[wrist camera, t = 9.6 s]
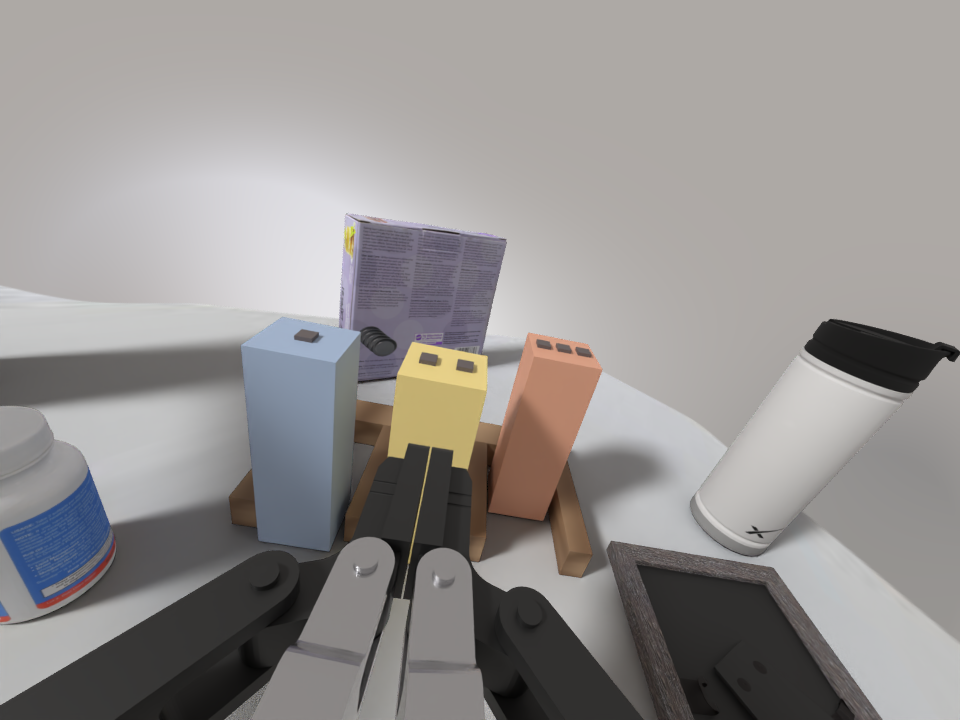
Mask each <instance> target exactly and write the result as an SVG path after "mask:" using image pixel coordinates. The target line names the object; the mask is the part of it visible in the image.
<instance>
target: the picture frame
mask: <svg viewBox="0 0 960 720" xmlns="http://www.w3.org/2000/svg"><path fill="white" fill-rule="evenodd" d="M607 553H608V556H609V559H610V563H611V566H612V569H613V572H614V576H615V579H616V582H617V585H618V589H619V592H620V595H621V599H622V602H623V605H624V608H625V612H626V615H627V618H628V621H629V625H630V628H631V631H632V634H633V638H634V641H635V644H636V647H637V651H638V654H639V657H640V660H641V664H642V667H643V670H644V673H645V677H646V680H647V683H648V686H649V690H650V693H651V696H652V700H653V703H654V706H655V709H656V713H657V716H658V719H659V720H882V719H881V717H880V716H879V714H878V713H877V712H876V710H875V709H874V707H873V706H872V705H871V703H870V702H869V700H868V699H867V698H866V696H865V695H864V693H863V692H862V691H861V689H860V688H859V686H858V685H857V684H856V682H855V681H854V680H853V678H852V677H851V675H850V674H849V673H848V671H847V670H846V668H845V667H844V666H843V664H842V663H841V661H840V660H839V659H838V657H837V656H836V654H835V653H834V652H833V650H832V649H831V647H830V646H829V645H828V643H827V642H826V640H825V639H824V638H823V636H822V635H821V634H820V632H819V631H818V629H817V628H816V627H815V625H814V624H813V622H812V621H811V620H810V618H809V617H808V615H807V614H806V613H805V611H804V610H803V608H802V607H801V606H800V604H799V603H798V601H797V600H796V599H795V597H794V596H793V595H792V593H791V592H790V590H789V589H788V588H787V586H786V585H785V583H784V582H783V581H782V579H781V578H780V576H779V575H778V574H777V572H776V571H775V569H774V568H772V567H766V566H760V565H754V564H748V563H742V562H736V561H730V560H724V559H718V558H712V557H706V556H700V555H694V554H687V553H681V552H675V551H669V550H663V549H657V548H651V547H645V546H639V545H633V544H627V543H621V542H615V541H611V542H610V544H609V546H608V548H607Z"/></svg>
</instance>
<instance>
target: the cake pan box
mask: <svg viewBox="0 0 960 720" xmlns="http://www.w3.org/2000/svg"><path fill="white" fill-rule="evenodd" d="M506 244H507V242H506V239H505V238H501V237H497V236H493V235H490V234H486V233H478V232H471V231H463V230H456V229H450V228H444V227H438V226H432V225H425V224H419V223H411V222H403V221H395V220H388V219H381V218H375V217H368V216H362V215H356V214H348V213H346V215H345V229H344V247H343V248H344V249H343V263H342V278H341V295H340V296H341V297H340V317H339V328H343V329H348V330H353V331H359V332H361V339H360V355H359V370H358V381H363V380H372V379H380V378H389V377H397V374H398V371H399V369H400V367H401V365H402V363H403V361H404V359H405V356H406V354H407V352H408V350H409V348H410V346H411V344H412V342H416V343H421V344H426V345H432V346H437V347H442V348H447V349H452V350H458V351H463V352H468V353H473V354H478V355H481V353H482V349H483V345H484V340H485V335H486V330H487V326H488V322H489V317H490V312H491V308H492V303H493V298H494V294H495V290H496V285H497V281H498V277H499V273H500V269H501V264H502V260H503V256H504V252H505V248H506Z"/></svg>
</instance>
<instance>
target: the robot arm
mask: <svg viewBox="0 0 960 720" xmlns="http://www.w3.org/2000/svg"><path fill="white" fill-rule="evenodd" d="M429 451H430V446H424V445H418V444H412V443H408V446H407V450H406V453H405V457H404V459H403V458H397V457H391V456H389V457H388V458H387V459H386V460H385V461H384V462H383V463H382V464H381V465H379V466H378V469H377V472H376V475H375V477H374V480H373V483H372V485H371V488H370V491H369V494H368V496H367V499H366V502H365V505H364V507H363V510H362V513H361V516H360V518H359V521H358V524H357V526H356V529H355V532H354V535H353V537H352V539H351V540H350V542H349V543H348V544H347V545H346V546H345V547H344V548H343V549H342V550H341V551H340V552H338V553H337V554H335V555H333V556H331V557H328V558H325V559H321V560H316V561H310V562H304V563H298V562H297V561H296V559H295V558H294V557H293V556H292V555H290V554H289V553H286V552H284V551H266V552H262V553H260V554H257V555H255V556H253V557H251V558H249V559H248V560H246V561H244V562H242V563H241V564H239V565H237V566H236V567H234V568H232V569H231V570H229V571H227V572H226V573H224V574H222V575H220V576H219V577H217V578H215V579H214V580H212V581H210V582H209V583H207V584H205V585H203V586H202V587H200V588H198V589H197V590H195V591H193V592H192V593H190V594H188V595H187V596H185V597H183V598H181V599H180V600H178V601H176V602H175V603H173V604H171V605H170V606H168V607H166V608H164V609H163V610H161V611H159V612H158V613H156V614H154V615H153V616H151V617H149V618H148V619H146V620H144V621H142V622H141V623H139V624H137V625H136V626H134V627H132V628H131V629H129V630H127V631H126V632H124V633H122V634H120V635H119V636H117V637H115V638H114V639H112V640H110V641H109V642H107V643H105V644H103V645H102V646H100V647H98V648H97V649H95V650H93V651H92V652H90V653H88V654H87V655H85V656H83V657H81V658H80V659H78V660H76V661H75V662H73V663H71V664H70V665H68V666H66V667H65V668H63V669H61V670H59V671H58V672H56V673H54V674H53V675H51V676H49V677H48V678H46V679H44V680H42V681H41V682H39V683H37V684H36V685H34V686H32V687H31V688H29V689H27V690H26V691H24V692H22V693H20V694H19V695H17V696H15V697H14V698H12V699H10V700H9V701H7V702H5V703H3V704H2V705H0V720H224V719H225V718H226V717H228V716H229V715H230V714H231V713H232V712H233V711H235V710H236V709H237V708H238V707H239V706H240V705H242V704H243V703H244V702H245V701H246V700H248V699H249V698H250V697H251V696H252V695H253V694H255V693H256V692H257V691H258V690H259V689H261V688H262V687H263V686H264V685H265V684H266V683H268V682H269V683H268V685H267V688H266V690H265V692H264V694H263V696H262V698H261V700H260V702H259V704H258V706H257V708H256V710H255V712H254V714H253V716H252V718H251V720H358V718H359V714H360V711H361V707H362V704H363V701H364V697H365V694H366V690H367V687H368V684H369V680H370V677H371V673H372V670H373V667H374V663H375V660H376V656H377V653H378V650H379V646H380V643H381V639H382V636H383V633H384V628H385V626H386V624H387V622H388V619H389V614H390V610H391V605H392V601H393V598H400V599H401V594H402V589H403V584H404V579H405V574H406V569H407V564H408V559H409V554H410V549H411V544H412V539H413V534H414V529H415V524H416V519H417V514H418V509H419V504H420V499H421V494H422V489H423V484H424V478H425V473H426V467H427V462H428V456H429ZM452 460H453V450H449V449H443V448H437V447H432V450H431V455H430V460H429V465H428V471H427V476H426V481H425V486H424V491H423V496H422V501H421V506H420V511H419V517H418V522H417V527H416V532H415V537H414V542H413V548H412V553H411V558H410V564H409V569H408V575H407V580H406V586H405V591H404V597H403V599H409V600H410V604H409V610H408V615H407V621H406V626H405V632H404V639H403V648H402V658H401V667H400V676H399V685H398V695H397V704H396V713H395V720H485V713H484V698H485V700H486V702H487V704H488V705H489V707H490V709H491V711H492V712H493V714H494V716H495V718H496V719H497V720H643V718H642V717H641V716H640V715H639V713H638V712H637V711H636V710H635V708H634V707H633V706H632V705H631V703H630V702H629V701H628V700H627V698H626V697H625V696H624V695H623V693H622V692H621V691H620V690H619V688H618V687H617V686H616V685H615V684H614V682H613V681H612V680H611V679H610V677H609V676H608V675H607V674H606V672H605V671H604V670H603V669H602V667H601V666H600V665H599V664H598V662H597V661H596V660H595V659H594V657H593V656H592V655H591V654H590V652H589V651H588V650H587V649H586V647H585V646H584V645H583V644H582V642H581V641H580V640H579V639H578V637H577V636H576V635H575V634H574V632H573V631H572V630H571V629H570V627H569V626H568V625H567V624H566V622H565V621H564V620H563V619H562V618H561V616H560V615H559V614H558V613H557V611H556V610H555V609H554V608H553V606H552V605H551V604H550V603H549V601H548V600H547V599H546V598H545V597H544V596H543V595H542V594H541V593H539V592H538V591H536V590H534V589H532V588H528V587H515V588H513V589H511V590H509V591H508V592H505V591H503V590H501V589H499V588H497V587H495V586H493V585H491V584H490V583H488V582H486V581H485V580H484V579H482V578H481V577H480V576H479V575H478V574H477V572H476V571H475V570H474V568H473V566H472V563H471V561H470V556H469V546H470V523H471V500H472V498H471V496H472V480H471V478H470V475H469V473H468V471H467V469H464V468H458V467H452Z"/></svg>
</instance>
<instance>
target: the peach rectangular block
mask: <svg viewBox="0 0 960 720" xmlns="http://www.w3.org/2000/svg"><path fill="white" fill-rule="evenodd" d="M601 372H602V368H601V366H600V364H599V363H598V361H597V359H596V358H595V356H594V354H593V352H592V351H591V349H590V347H589V346H588V344H584V343H579V342H573V341H568V340H563V339H558V338H553V337H548V336H543V335H538V334H533V333H528V335H527V339H526V342H525V346H524V350H523V353H522V357H521V360H520V364H519V368H518V371H517V375H516V378H515V382H514V385H513V389H512V393H511V396H510V400H509V403H508V407H507V411H506V414H505V418H504V421H503V425H502V428H501V432H500V436H499V439H498V443H497V446H496V450H495V454H494V457H493V461H492V464H491V468H490V471H489V475H488V512H491V513H497V514H503V515H509V516H515V517H521V518H527V519H533V520H540V521H543V520H544V517H545V515H546V512H547V510H548V507H549V505H550V502H551V500H552V497H553V494H554V492H555V489H556V487H557V484H558V482H559V479H560V477H561V474H562V472H563V469H564V466H565V464H566V461H567V459H568V456H569V454H570V451H571V449H572V446H573V444H574V441H575V438H576V436H577V433H578V431H579V428H580V426H581V423H582V421H583V418H584V416H585V413H586V410H587V408H588V405H589V403H590V400H591V398H592V395H593V393H594V390H595V388H596V385H597V382H598V380H599V377H600V375H601Z"/></svg>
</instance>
